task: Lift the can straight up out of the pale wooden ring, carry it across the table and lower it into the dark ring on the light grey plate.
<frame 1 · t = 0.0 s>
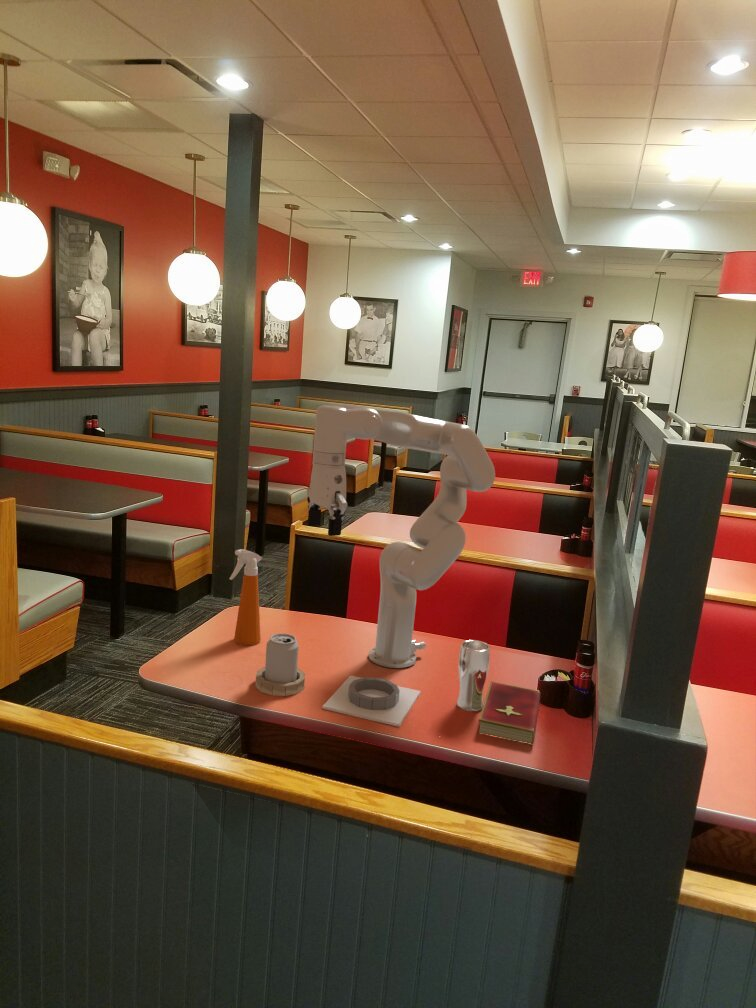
hand: (323, 530, 172), 37 cm above the table, tool pointing down, fingers open, 9 cm apart
spray bottle: (242, 643, 195), on the table
stand ring: (280, 684, 172), on the table
hardcover book: (509, 721, 166), on the table
can: (280, 685, 172), resting in stand ring
silver tumbler: (469, 706, 170), on the table
holder: (373, 700, 168), on the table
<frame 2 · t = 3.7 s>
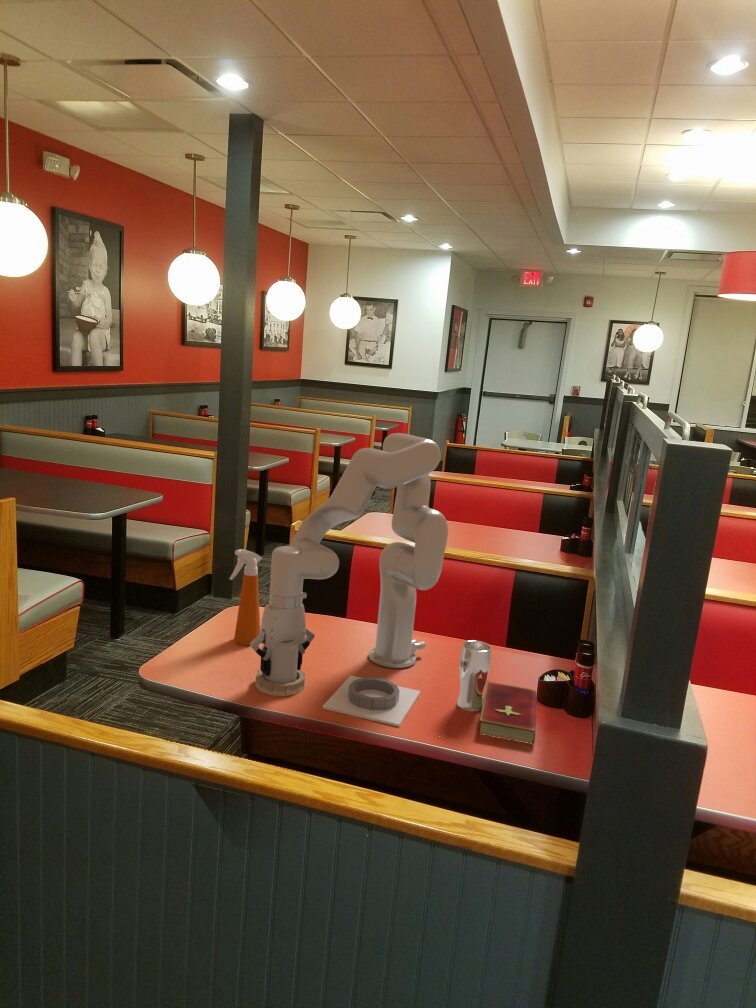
hand: (281, 670, 172), 4 cm above the table, tool pointing down, fingers closed on can, 7 cm apart
can: (280, 685, 172), resting in stand ring, touching gripper
everything else where it was.
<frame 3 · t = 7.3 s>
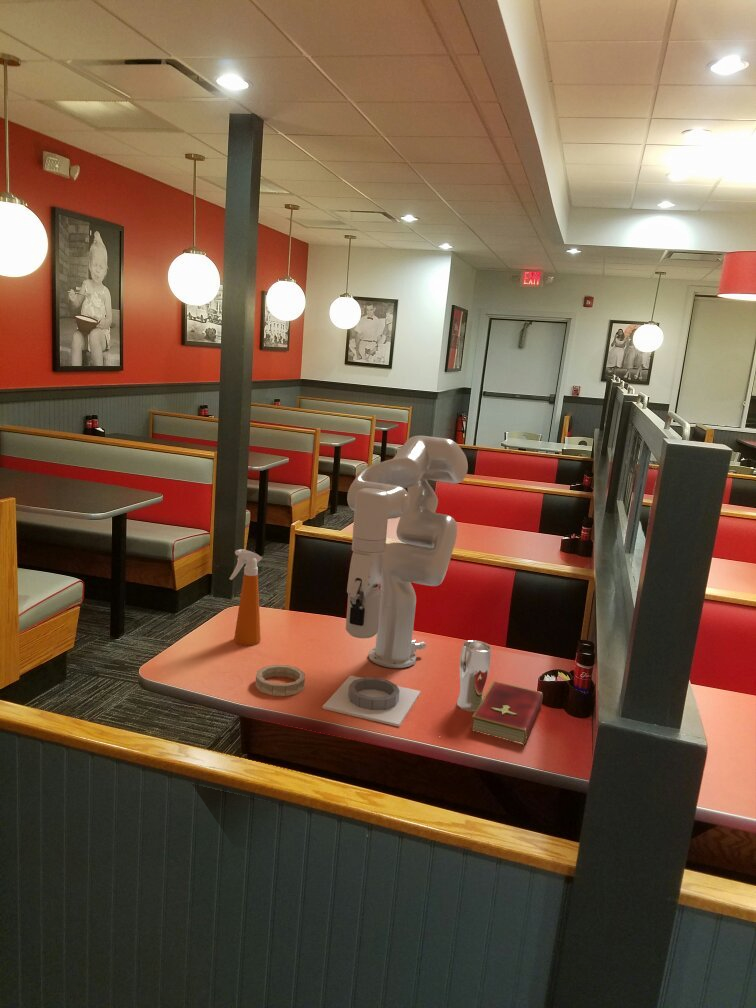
hand: (362, 618, 166), 20 cm above the table, tool pointing down, fingers closed on can, 7 cm apart
can: (361, 634, 166), point 16 cm above the table, touching gripper
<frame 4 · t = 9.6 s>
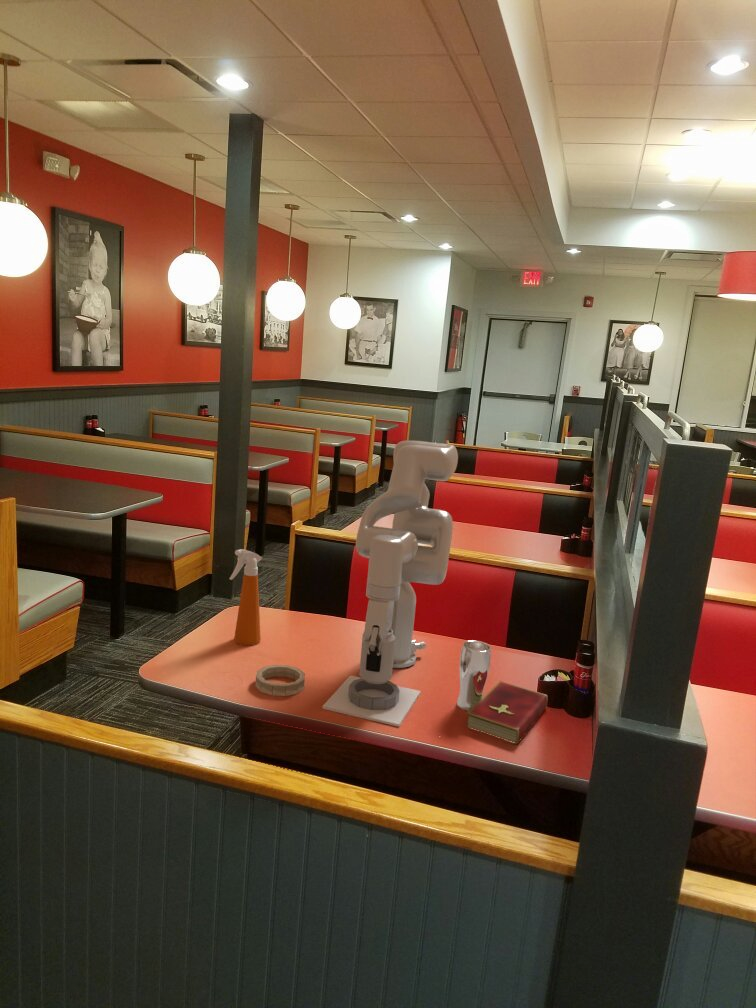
hand: (376, 663, 166), 9 cm above the table, tool pointing down, fingers closed on can, 7 cm apart
can: (375, 679, 167), point 5 cm above the table, touching gripper
when the fingers open (5 cm above the table, at t = 11.4 s): can drops 1 cm, resting on holder.
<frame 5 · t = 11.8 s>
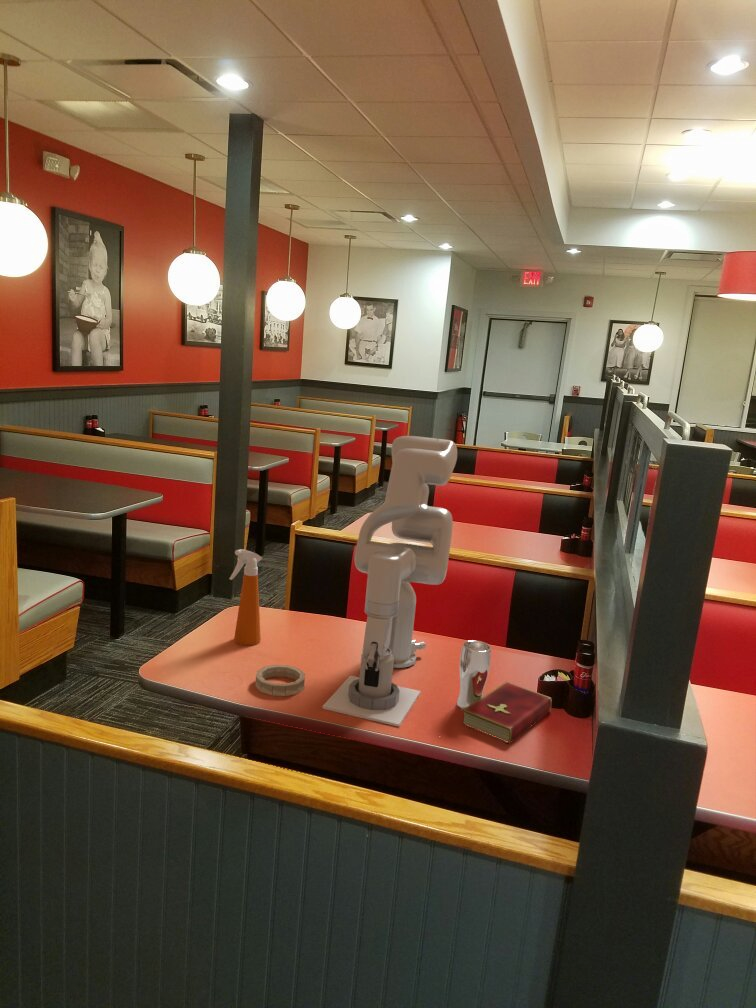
hand: (375, 677, 167), 6 cm above the table, tool pointing down, fingers open, 9 cm apart
can: (373, 698, 169), resting on holder
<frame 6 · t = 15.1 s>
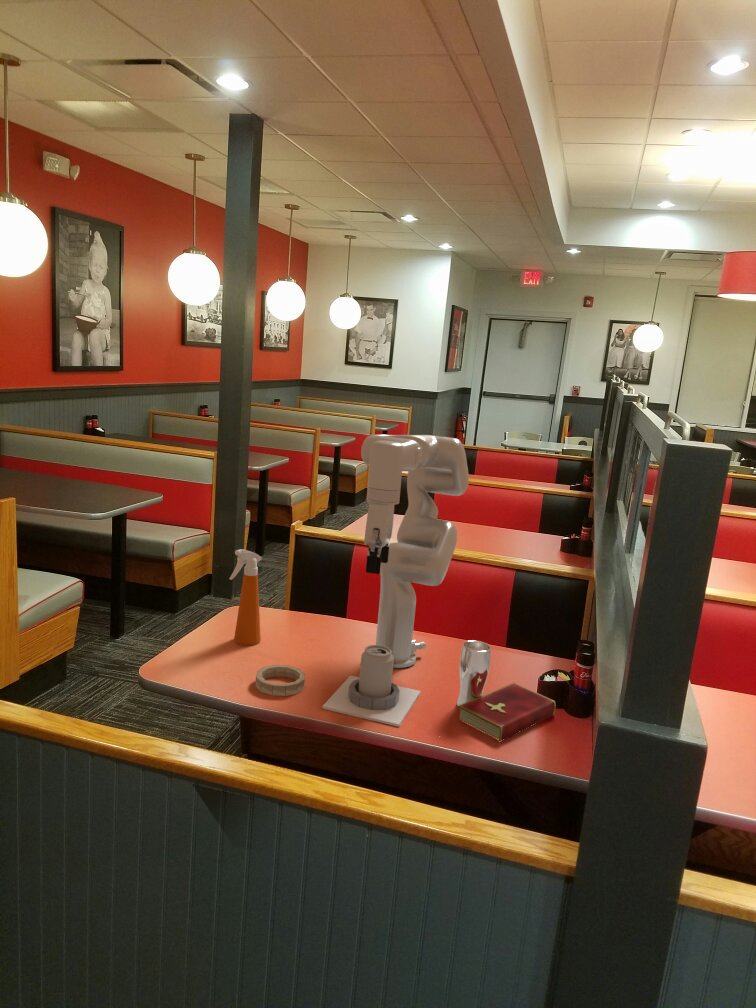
hand: (377, 567, 168), 30 cm above the table, tool pointing down, fingers open, 9 cm apart
at the end: can 0.4 cm off-centre on the holder, point 0.4 cm above the holder's base; can tilted 0°; the gripper is holding nothing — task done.
